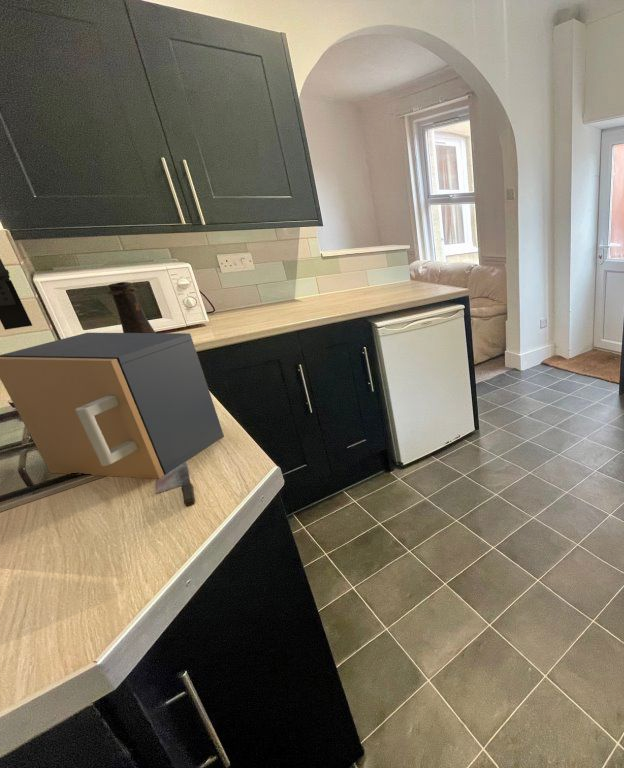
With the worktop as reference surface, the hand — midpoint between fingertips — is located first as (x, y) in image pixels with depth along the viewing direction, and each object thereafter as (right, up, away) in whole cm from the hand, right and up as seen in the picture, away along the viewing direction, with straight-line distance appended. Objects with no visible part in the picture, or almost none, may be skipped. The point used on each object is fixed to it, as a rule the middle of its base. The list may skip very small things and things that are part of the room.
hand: (13, 321), depth 64 cm
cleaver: (+19, -28, +8) cm, 34 cm away
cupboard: (+4, -23, +19) cm, 30 cm away
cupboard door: (+3, -27, +9) cm, 29 cm away
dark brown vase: (-21, -10, +52) cm, 57 cm away
